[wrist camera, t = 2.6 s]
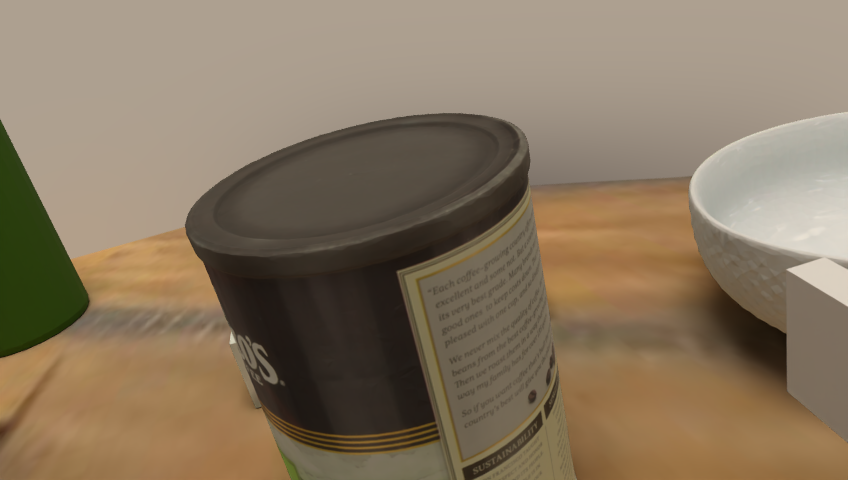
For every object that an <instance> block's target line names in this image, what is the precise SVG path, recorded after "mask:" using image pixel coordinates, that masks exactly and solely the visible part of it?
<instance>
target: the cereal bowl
mask: <svg viewBox="0 0 848 480" xmlns="http://www.w3.org/2000/svg"><path fill="white" fill-rule="evenodd" d="M689 209H690V212H691V224H692V227H693V230H694V238H695V240H696V242H697V245H698V250H699V252H700V254H701V256H702V258H703V260H704V263H705V266H706V267H707V268H708V269H709V271H710V273H711V275H712V277H713V278H714V279H715V280H716V281H717V283H718V284H719V285H720V287H721V288H722V289H723V290H724V291H725V292H726V293H727V294H728V295H729V296H730V297H731V298H732V299H734V300H735V301H736V302H737V303H738V304H739V305H740V306H741V307H742V308H744V309H746V310H747V311H749V312H751V313H752V314H753V315H754V316H756V317H757V318H758V319H761V320H763V321H765V322H766V323H768V324H769V325H770V326H773V327H776V328H778V329H779V330H781V331H782V332H783V333H786V334H787V313H786V269H789V268H792V267H795V266H799V265H802V264H805V263H808V262H811V261H815V260H818V259H821V258H824V257H825V258H827V259H829V260H831V261H833V262H835V263H836V264H838V265H840V266H842V267H844V268H846V269H848V112H844V113H837V114H831V115H825V116H819V117H814V118H809V119H804V120H800V121H796V122H792V123H788V124H784V125H780V126H777V127H773V128H770V129H767V130H764V131H761V132H758V133H755V134H752V135H750V136H748V137H744V138H742V139H740V140H738V141H736V142H734V143H732V144H729V145H727V146H726V147H724V148H722V149H720V150H719V151H717V152H715V153H714V154H713V155H711V156H710V157H709V158H707V159H706V160H705V161H704V162H703V163H702V164H701V165H700V167H699V168H698V169H697V170H696V172H695V173H694V175H693V177H692V179H691V181H690V185H689Z"/></svg>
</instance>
